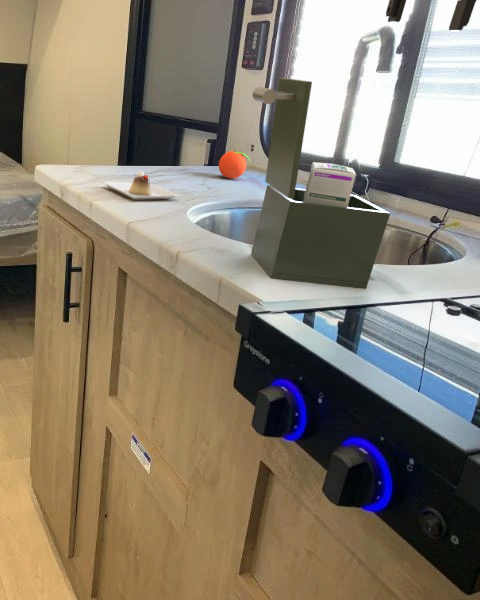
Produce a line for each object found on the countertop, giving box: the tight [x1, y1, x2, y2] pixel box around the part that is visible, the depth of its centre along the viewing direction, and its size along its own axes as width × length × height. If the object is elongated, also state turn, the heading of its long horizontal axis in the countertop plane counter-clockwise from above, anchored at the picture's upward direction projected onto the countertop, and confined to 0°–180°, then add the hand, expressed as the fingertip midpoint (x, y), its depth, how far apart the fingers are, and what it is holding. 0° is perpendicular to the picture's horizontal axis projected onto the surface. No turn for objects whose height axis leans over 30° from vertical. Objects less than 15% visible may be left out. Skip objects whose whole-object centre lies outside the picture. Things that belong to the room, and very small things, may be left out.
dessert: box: [101, 170, 181, 201], centre depth 123 cm, size 12×12×5 cm
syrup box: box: [303, 161, 357, 207], centre depth 85 cm, size 6×6×14 cm
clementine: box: [218, 150, 252, 180], centre depth 153 cm, size 8×7×7 cm
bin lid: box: [252, 77, 313, 198], centre depth 81 cm, size 14×11×5 cm
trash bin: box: [250, 184, 391, 289], centre depth 86 cm, size 14×11×11 cm
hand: (424, 26), depth 80 cm, fingers open, 8 cm apart
